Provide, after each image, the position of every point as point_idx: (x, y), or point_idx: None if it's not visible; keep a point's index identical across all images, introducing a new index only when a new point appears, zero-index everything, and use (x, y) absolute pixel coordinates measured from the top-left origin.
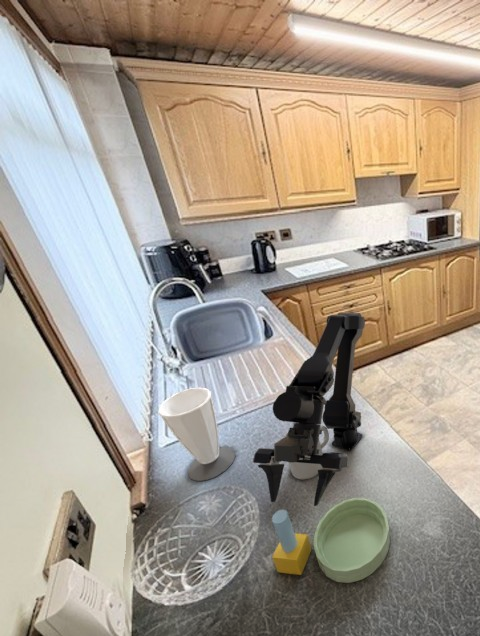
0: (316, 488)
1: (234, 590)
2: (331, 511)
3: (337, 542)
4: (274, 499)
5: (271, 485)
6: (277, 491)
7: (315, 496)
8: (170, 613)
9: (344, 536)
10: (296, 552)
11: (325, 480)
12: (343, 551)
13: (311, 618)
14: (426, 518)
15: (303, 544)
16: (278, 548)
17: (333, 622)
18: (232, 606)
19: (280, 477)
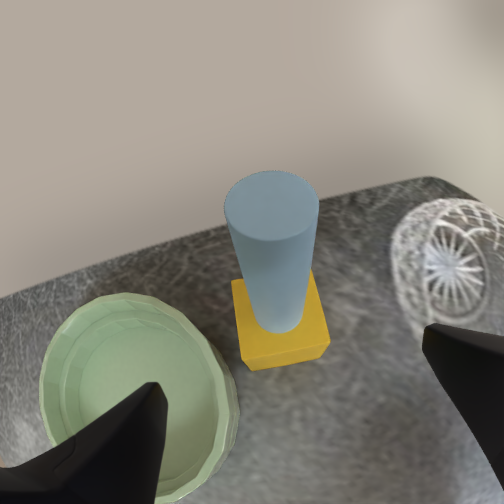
0: (104, 440)
1: (367, 241)
2: (206, 460)
3: (181, 398)
4: (428, 343)
5: (499, 347)
6: (447, 382)
7: (131, 408)
8: (423, 192)
9: (170, 416)
10: (243, 299)
11: (27, 467)
12: (156, 378)
13: (179, 251)
14: (35, 455)
15: (237, 328)
16: (310, 291)
17: (139, 258)
18: (345, 222)
19: (488, 442)
